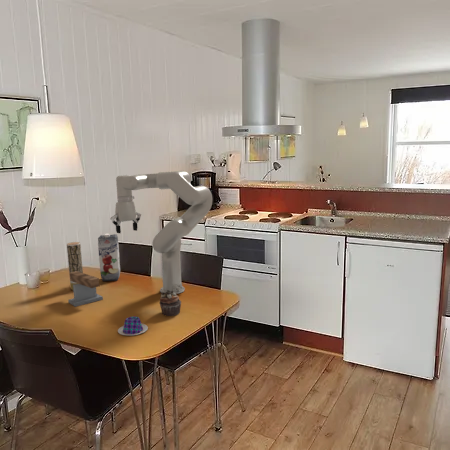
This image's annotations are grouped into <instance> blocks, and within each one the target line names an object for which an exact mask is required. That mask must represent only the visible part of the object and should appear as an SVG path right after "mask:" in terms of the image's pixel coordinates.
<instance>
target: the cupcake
mask: <svg viewBox="0 0 450 450" xmlns="http://www.w3.org/2000/svg"><path fill="white" fill-rule="evenodd" d="M181 305H182V301H181V300H180V296H178V295H177V294H175V293H174V292H173V291H169V290H167V292H165V293H161V294H160V298H159V307H160V310H161V313H162V315H163V316H165V315H166V316H167V317H172V316H177V315H179V314H180V312H181Z"/></svg>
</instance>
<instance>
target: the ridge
mask: <svg viewBox="0 0 450 450" xmlns="http://www.w3.org/2000/svg"><path fill="white" fill-rule="evenodd" d="M72 293H73V298H70V299H68V300H67V301H68V303H69V304H70V305H72V306H73V307H74V308H77V307H79V306H84V305H87V304H91V303H95V302H99V301H103V300H104V299H103V296H102V295H100V294H99V293H97V287H95V288H89V287H87V286H84V285H81V284H75V285H73V290H72Z"/></svg>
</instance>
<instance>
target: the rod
mask: <svg viewBox="0 0 450 450" xmlns="http://www.w3.org/2000/svg"><path fill="white" fill-rule="evenodd" d="M68 274H70V275H69V282H70V281H72V282H75V283H78V284H81V285H84V286H87V287H89V288H95V287H96V288H97V287H100V280H99V279H100V278H99V277H96V276H93V275H90V274H87V273H84V272H83V273H81V272H78V271H76V272H71V273H69V272H68Z"/></svg>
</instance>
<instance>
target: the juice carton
mask: <svg viewBox="0 0 450 450" xmlns="http://www.w3.org/2000/svg"><path fill="white" fill-rule="evenodd" d="M97 246H98V247H97V248H98V261H99V271H100V272H99V274H100V277H101V280H102V282H112V281H113V282H116V281H119V278H120V274H121V265H120V264H121V263H120V261H121V260H120V248H119V237H118V233H117V234H115V233H114V234H110V233H103V234H100V236H99V237H98V238H97Z"/></svg>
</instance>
